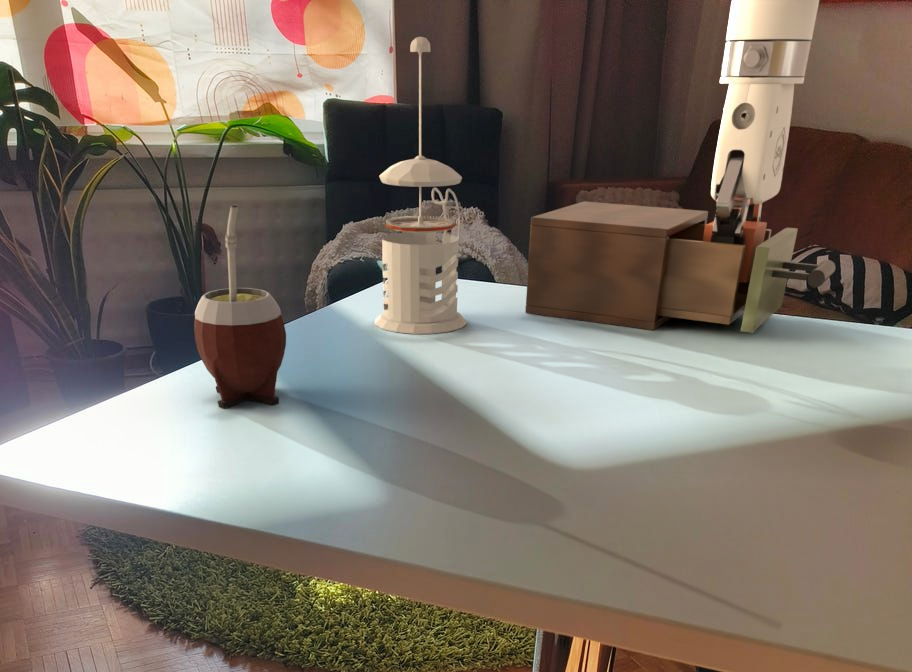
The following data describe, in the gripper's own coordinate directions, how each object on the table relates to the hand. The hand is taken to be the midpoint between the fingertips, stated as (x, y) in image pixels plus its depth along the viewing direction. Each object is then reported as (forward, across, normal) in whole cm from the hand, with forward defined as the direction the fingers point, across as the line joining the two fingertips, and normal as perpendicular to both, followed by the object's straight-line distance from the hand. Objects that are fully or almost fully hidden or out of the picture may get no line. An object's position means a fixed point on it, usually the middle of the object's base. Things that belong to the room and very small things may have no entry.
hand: (728, 271), depth 92 cm
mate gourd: (+5, -46, +26) cm, 53 cm away
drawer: (+4, 0, -1) cm, 4 cm away
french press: (+5, -16, +27) cm, 32 cm away
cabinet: (+5, 0, +12) cm, 13 cm away
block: (0, 0, 0) cm, 0 cm away
